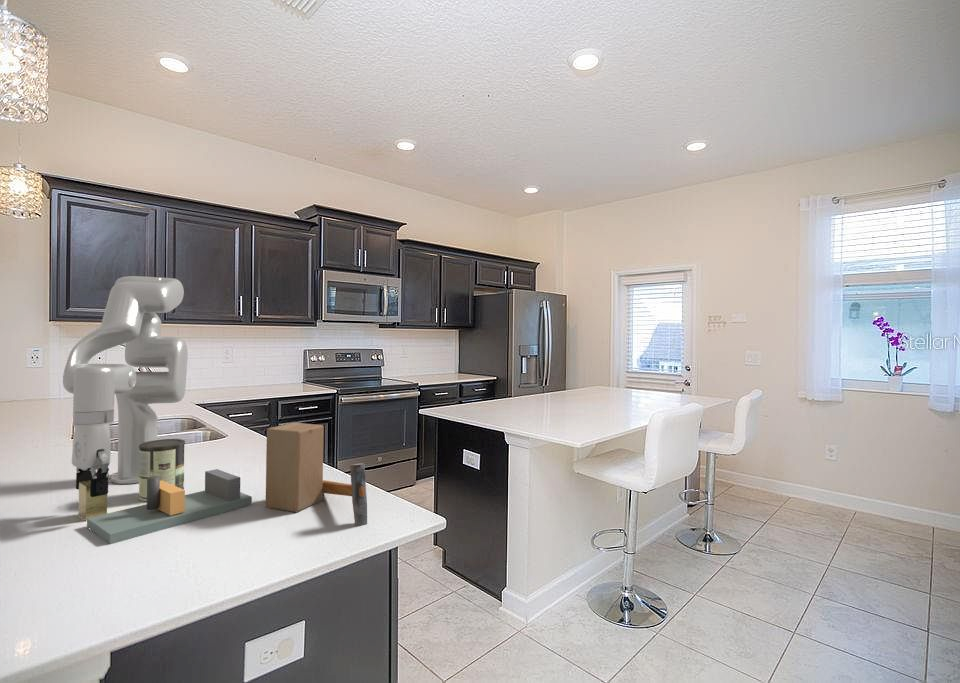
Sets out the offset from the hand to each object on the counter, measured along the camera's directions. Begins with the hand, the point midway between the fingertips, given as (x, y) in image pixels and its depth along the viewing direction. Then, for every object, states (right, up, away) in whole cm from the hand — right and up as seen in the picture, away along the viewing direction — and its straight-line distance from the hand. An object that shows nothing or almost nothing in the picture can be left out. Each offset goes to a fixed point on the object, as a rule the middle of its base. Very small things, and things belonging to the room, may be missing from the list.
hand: (91, 491), depth 112 cm
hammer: (+54, -7, +11) cm, 56 cm away
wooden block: (+43, -7, +12) cm, 45 cm away
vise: (+18, -6, +2) cm, 19 cm away
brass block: (0, -6, +1) cm, 6 cm away
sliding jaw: (+16, -4, 0) cm, 17 cm away
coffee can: (+6, -6, +16) cm, 18 cm away
